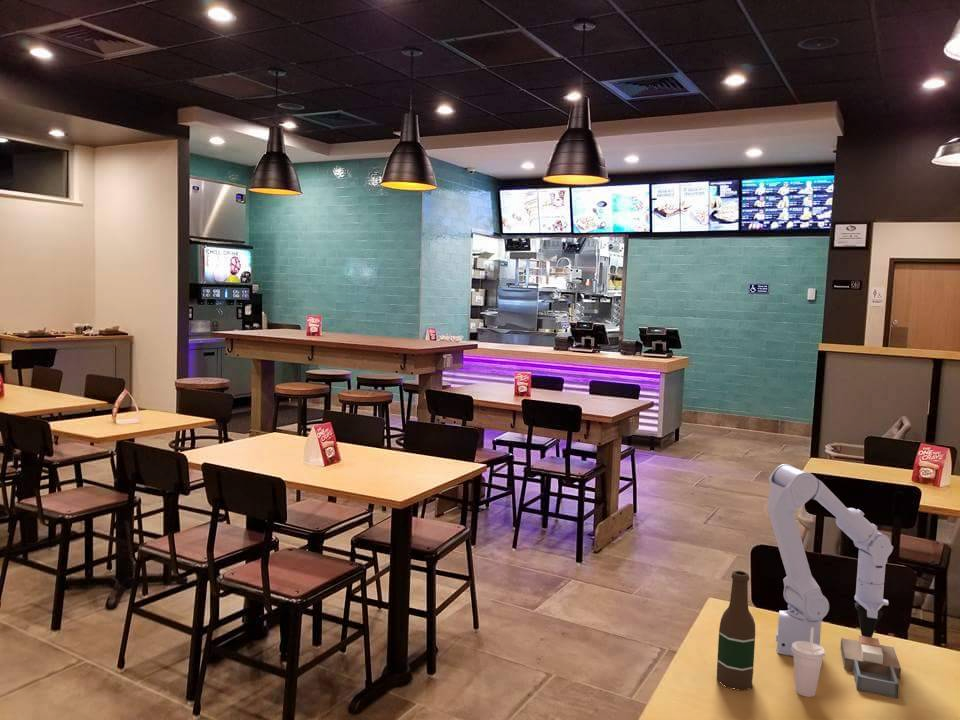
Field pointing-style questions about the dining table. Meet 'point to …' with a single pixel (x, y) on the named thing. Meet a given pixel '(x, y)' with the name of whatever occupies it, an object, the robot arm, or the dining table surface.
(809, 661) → the smoothie
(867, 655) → the cream tile
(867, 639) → the terracotta tile
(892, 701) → the dining table surface
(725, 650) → the beer bottle
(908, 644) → the dining table surface
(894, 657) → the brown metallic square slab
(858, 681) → the tray
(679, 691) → the dining table surface
